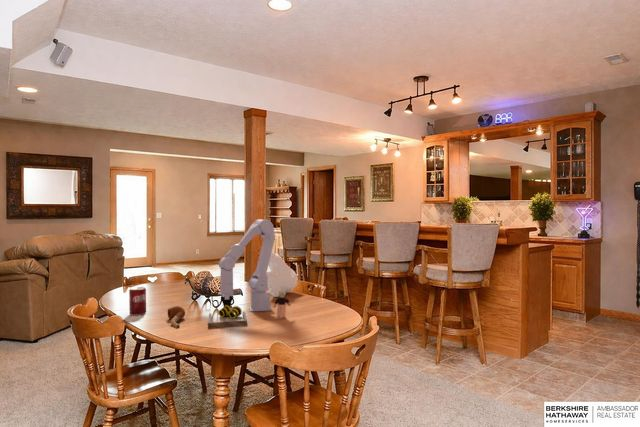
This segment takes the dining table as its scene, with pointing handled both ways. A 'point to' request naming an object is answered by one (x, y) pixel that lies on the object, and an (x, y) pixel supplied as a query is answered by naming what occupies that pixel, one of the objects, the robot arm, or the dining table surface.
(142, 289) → the soda can
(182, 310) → the smoking pipe
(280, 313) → the grandmother figurine
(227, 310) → the opera glasses
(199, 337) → the dining table surface
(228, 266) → the robot arm
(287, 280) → the white rounded lump
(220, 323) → the bar
